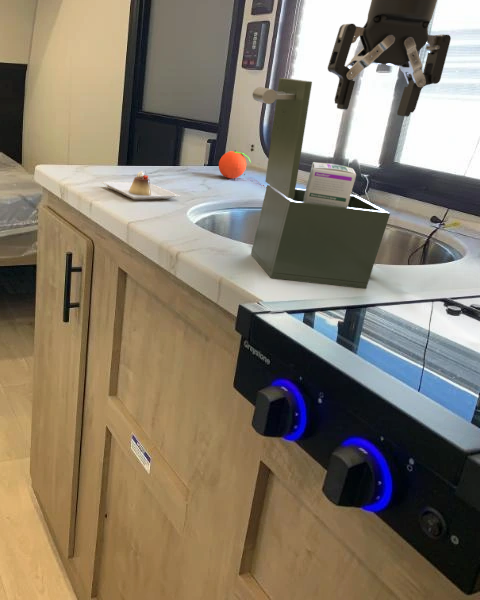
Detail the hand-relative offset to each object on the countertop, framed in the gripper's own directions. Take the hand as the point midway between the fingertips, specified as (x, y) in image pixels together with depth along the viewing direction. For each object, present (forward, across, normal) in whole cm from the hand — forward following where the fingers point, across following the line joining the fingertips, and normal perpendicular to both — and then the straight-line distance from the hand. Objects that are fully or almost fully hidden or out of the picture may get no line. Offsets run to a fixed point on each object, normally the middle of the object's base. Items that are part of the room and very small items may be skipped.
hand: (372, 112), depth 82 cm
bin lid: (+4, -11, -2) cm, 12 cm away
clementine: (+23, +1, +70) cm, 73 cm away
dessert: (+23, -26, +38) cm, 51 cm away
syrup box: (+22, -4, -3) cm, 23 cm away
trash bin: (+23, -4, -2) cm, 23 cm away
